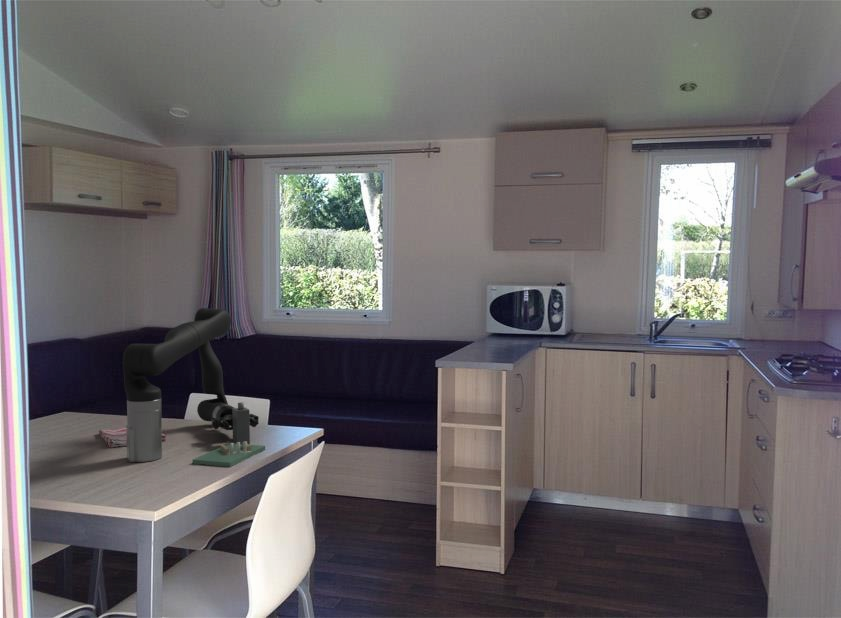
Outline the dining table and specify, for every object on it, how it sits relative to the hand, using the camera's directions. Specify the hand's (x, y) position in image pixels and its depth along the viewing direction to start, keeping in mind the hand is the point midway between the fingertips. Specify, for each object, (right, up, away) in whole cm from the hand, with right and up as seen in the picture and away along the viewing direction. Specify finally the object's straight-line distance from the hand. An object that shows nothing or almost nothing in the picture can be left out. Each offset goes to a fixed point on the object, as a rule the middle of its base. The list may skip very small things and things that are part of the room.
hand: (241, 425), depth 218 cm
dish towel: (-38, -6, +9) cm, 40 cm away
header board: (0, -7, -15) cm, 16 cm away
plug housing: (0, -6, +1) cm, 6 cm away
